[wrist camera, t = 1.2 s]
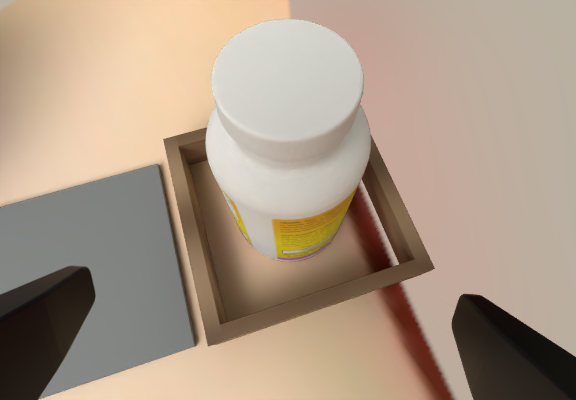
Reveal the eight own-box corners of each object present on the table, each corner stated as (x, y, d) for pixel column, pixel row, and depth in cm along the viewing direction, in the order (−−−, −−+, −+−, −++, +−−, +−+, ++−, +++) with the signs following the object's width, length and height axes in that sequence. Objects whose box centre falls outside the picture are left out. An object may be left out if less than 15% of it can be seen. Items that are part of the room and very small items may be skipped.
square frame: (418, 275, 21) (434, 268, 18) (217, 344, 19) (208, 346, 17) (343, 111, 25) (349, 89, 23) (175, 158, 24) (163, 139, 21)
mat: (196, 345, 19) (194, 346, 19) (-26, 421, 18) (-33, 423, 17) (159, 166, 23) (157, 163, 23) (-23, 216, 22) (-29, 214, 22)
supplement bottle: (356, 196, 23) (434, 43, 11) (309, 283, 20) (338, 217, 8) (271, 152, 24) (253, -30, 12) (218, 230, 22) (131, 107, 10)
